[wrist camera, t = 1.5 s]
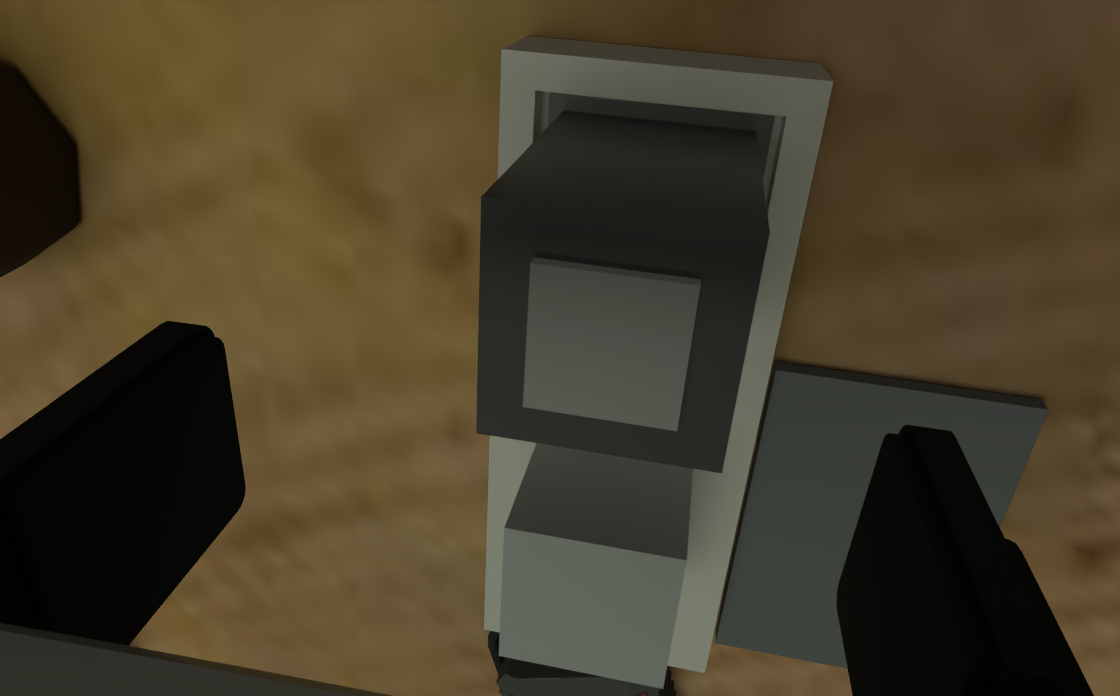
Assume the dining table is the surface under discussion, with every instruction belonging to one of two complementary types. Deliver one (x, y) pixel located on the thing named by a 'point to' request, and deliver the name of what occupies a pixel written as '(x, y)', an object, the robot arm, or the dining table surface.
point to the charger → (621, 288)
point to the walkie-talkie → (562, 679)
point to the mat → (843, 492)
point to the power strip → (781, 250)
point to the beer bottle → (32, 175)
